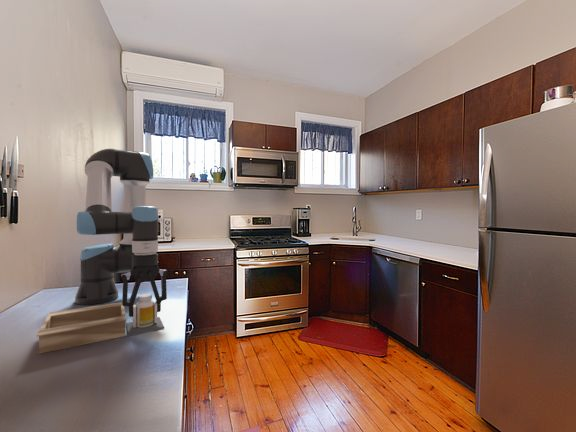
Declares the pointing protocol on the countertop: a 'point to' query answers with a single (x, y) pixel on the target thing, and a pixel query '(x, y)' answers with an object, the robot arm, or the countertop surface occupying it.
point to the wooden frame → (81, 326)
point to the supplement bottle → (144, 311)
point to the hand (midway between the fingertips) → (144, 323)
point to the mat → (144, 328)
